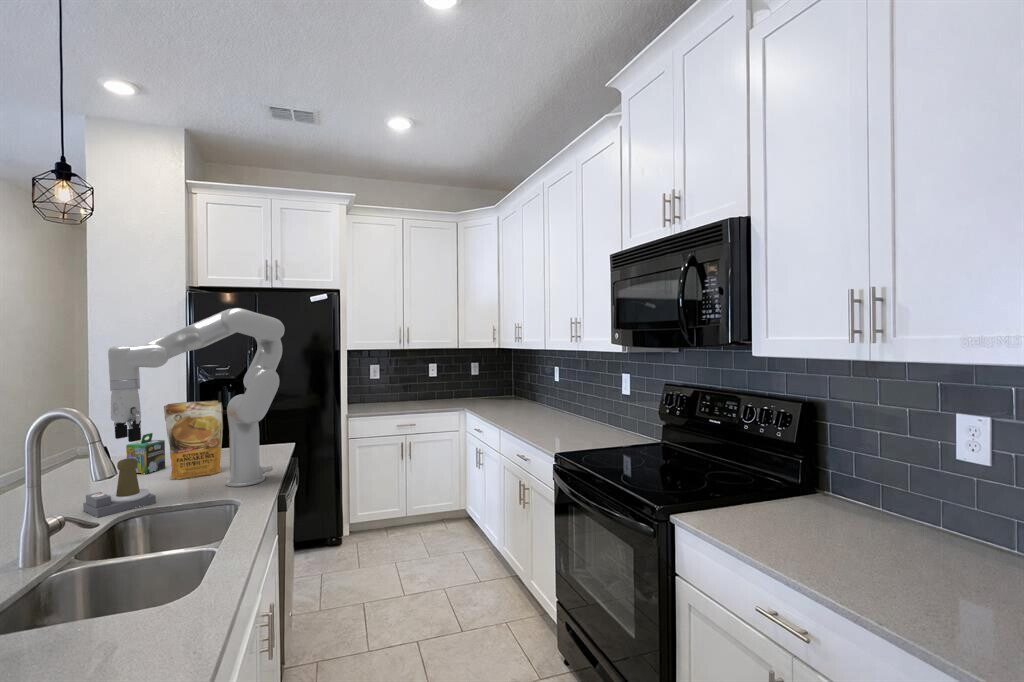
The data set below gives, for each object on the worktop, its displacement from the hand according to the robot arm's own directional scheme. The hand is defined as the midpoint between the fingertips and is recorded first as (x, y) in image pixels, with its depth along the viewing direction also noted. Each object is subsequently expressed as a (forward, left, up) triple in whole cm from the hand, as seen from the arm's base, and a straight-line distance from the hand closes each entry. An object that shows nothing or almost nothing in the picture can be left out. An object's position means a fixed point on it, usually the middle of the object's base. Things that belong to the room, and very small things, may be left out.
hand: (128, 439), depth 159 cm
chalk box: (-21, -41, -21) cm, 50 cm away
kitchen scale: (+2, 0, -21) cm, 21 cm away
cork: (0, 0, -17) cm, 17 cm away
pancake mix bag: (-28, -17, -21) cm, 39 cm away
